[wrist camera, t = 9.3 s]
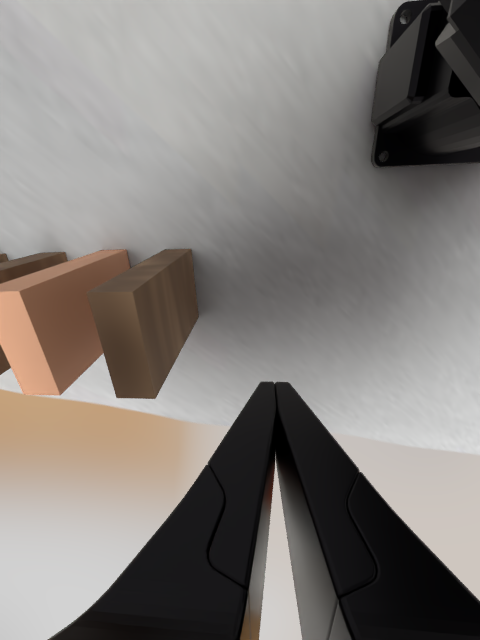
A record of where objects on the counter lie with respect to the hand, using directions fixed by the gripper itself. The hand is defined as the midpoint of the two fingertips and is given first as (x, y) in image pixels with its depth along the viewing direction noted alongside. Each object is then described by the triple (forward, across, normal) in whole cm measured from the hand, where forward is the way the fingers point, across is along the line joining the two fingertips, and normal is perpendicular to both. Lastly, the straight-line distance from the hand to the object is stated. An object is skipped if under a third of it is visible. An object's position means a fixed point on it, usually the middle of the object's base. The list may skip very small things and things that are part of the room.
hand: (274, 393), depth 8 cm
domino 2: (+12, +11, 0) cm, 16 cm away
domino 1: (+12, +6, 0) cm, 13 cm away
